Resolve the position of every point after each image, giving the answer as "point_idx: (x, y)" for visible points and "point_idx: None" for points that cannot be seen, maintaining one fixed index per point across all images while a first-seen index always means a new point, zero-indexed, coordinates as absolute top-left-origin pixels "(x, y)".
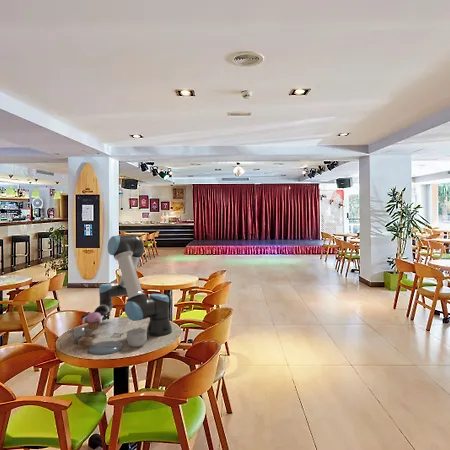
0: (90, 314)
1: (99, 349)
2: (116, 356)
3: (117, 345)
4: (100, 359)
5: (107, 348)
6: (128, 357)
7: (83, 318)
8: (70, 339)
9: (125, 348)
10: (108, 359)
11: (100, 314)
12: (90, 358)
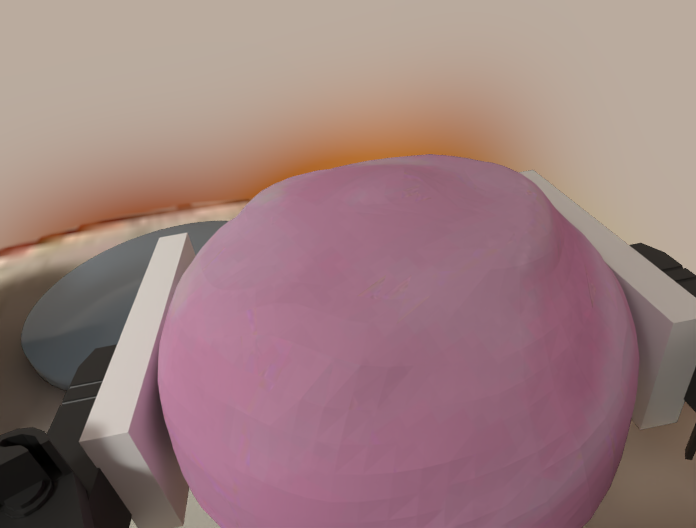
0: (413, 157)
1: (203, 244)
2: (99, 238)
3: (67, 307)
4: (186, 207)
5: (148, 261)
6: (35, 242)
7: (549, 190)
8: (691, 419)
9: (16, 321)
10: (144, 213)
11: (167, 318)
12: (241, 204)
